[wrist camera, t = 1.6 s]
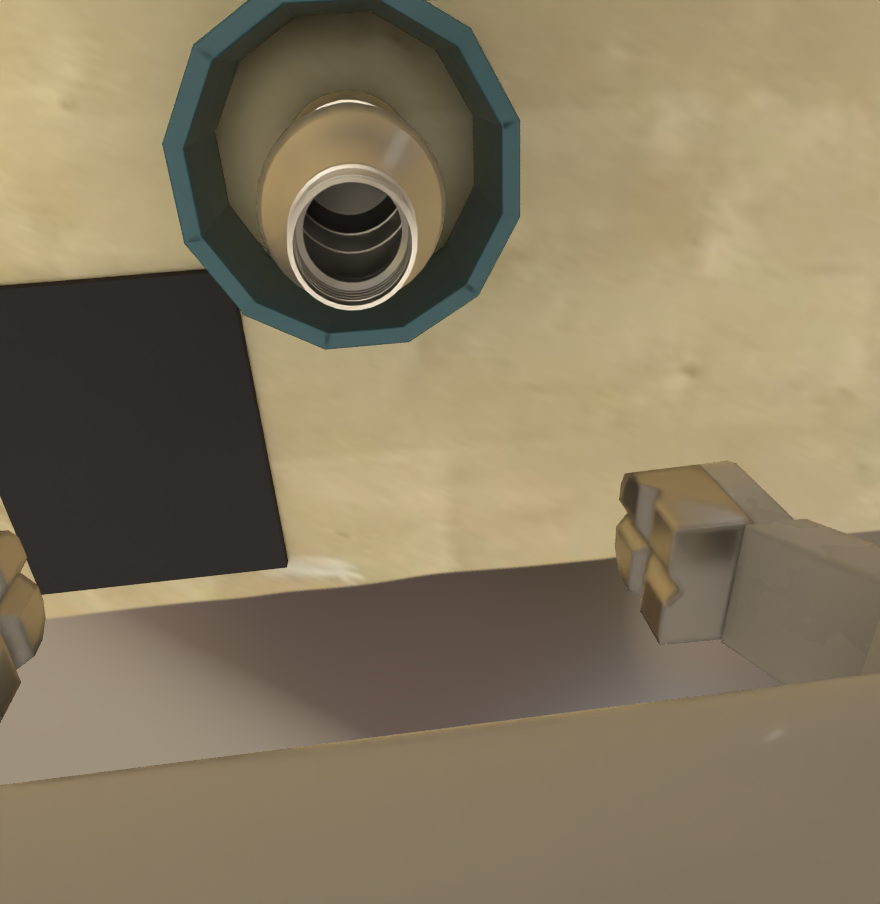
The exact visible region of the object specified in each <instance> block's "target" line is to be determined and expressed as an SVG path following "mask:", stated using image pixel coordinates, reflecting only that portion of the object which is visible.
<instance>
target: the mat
mask: <svg viewBox="0 0 880 904" xmlns="http://www.w3.org/2000/svg"><path fill="white" fill-rule="evenodd" d="M0 497H1V499H2V501H3V504H4V506H5V509H6V511H7V513H8V516H9V518H10V521H11V523H12V525H13V528H14V530H15V533H16V535H17V536H18V537H19V539H20V541H21V544H22V546H23V548H24V551H25V553H26V555H27V562H28V564H29V567H30V569H31V571H32V574H33V576H34V579H35V581H36V583H37V585H38V587H39V590H40V593H41V595H43V594H52V593H61V592H70V591H79V590H88V589H97V588H106V587H115V586H124V585H133V584H142V583H151V582H160V581H169V580H178V579H187V578H196V577H205V576H214V575H223V574H232V573H241V572H250V571H259V570H268V569H276V568H285V567H287V564H288V558H287V553H286V548H285V543H284V537H283V532H282V527H281V522H280V517H279V512H278V506H277V501H276V496H275V491H274V486H273V481H272V476H271V470H270V465H269V460H268V455H267V450H266V445H265V439H264V434H263V429H262V424H261V419H260V414H259V408H258V403H257V398H256V393H255V388H254V383H253V378H252V372H251V367H250V362H249V357H248V352H247V347H246V341H245V336H244V331H243V326H242V321H241V316H240V311H239V308H238V307H237V305H236V304H235V303H234V302H233V301H232V299H231V298H230V297H229V296H228V295H227V293H226V292H225V291H224V290H223V289H222V288H221V286H220V285H219V284H218V283H217V282H216V280H215V279H214V278H213V277H212V276H211V274H210V273H209V272H208V271H207V270H206V269H204V270H192V271H180V272H167V273H155V274H142V275H130V276H117V277H105V278H92V279H80V280H68V281H55V282H43V283H30V284H18V285H5V286H0Z"/></svg>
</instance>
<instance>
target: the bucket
mask: <svg viewBox="0 0 880 904" xmlns="http://www.w3.org/2000/svg"><path fill="white" fill-rule="evenodd" d="M366 11H371V12H373V13H374V14H376V15H378V16H379V17H381V18H383V19H385V20H386V21H388V22H390V23H391V24H393V25H395V26H396V27H398V28H400V29H402V30H403V31H405V32H407V33H408V34H410V35H412V36H413V37H415V38H417V39H419V40H420V41H422V42H424V43H425V44H427V45H429V46H430V47H432V48H434V49H436V51H437V53H438V55H439V57H440V58H441V60H442V62H443V64H444V65H445V67H446V69H447V71H448V72H449V74H450V76H451V78H452V80H453V81H454V83H455V85H456V87H457V88H458V90H459V92H460V94H461V95H462V97H463V99H464V101H465V102H466V104H467V106H468V108H469V110H470V111H471V113H472V119H473V155H474V188H473V190H472V192H471V194H470V196H469V198H468V200H467V202H466V204H465V206H464V208H463V210H462V212H461V214H460V216H459V218H458V220H457V222H456V224H455V226H454V228H453V230H452V233H451V235H450V237H449V239H448V241H447V243H446V245H445V246H444V247H442V248H441V249H440V250H438V251H437V252H435V253H434V254H432V256H431V257H430V259H429V261H428V262H427V264H426V265H425V267H424V268H423V269H422V270H421V271H420V272H419V273H418V274H417V275H416V277H415V278H414V279H413V280H412V281H411V282H409V283H408V284H406V285H405V286H404V287H402V288H401V289H399V290H398V291H397V292H396V293H395V294H394V295H393V296H391V297H390V298H389V299H387V300H386V301H384V302H383V303H380V304H378V305H376V306H374V307H371V308H367V309H363V310H343V309H336V308H334V307H331V306H328V305H325V304H324V303H322V302H320V301H319V300H317V299H315V298H314V297H313V296H312V295H311V294H310V293H308V292H307V291H306V290H304V289H302V288H301V287H299V286H297V285H296V284H295V283H294V282H293V281H292V280H291V279H289V278H288V277H287V276H286V275H285V274H284V273H283V272H282V271H281V269H280V268H279V267H278V265H277V264H276V263H275V261H274V260H272V259H271V258H270V256H269V255H268V254H267V253H266V251H265V250H264V249H263V248H262V246H261V245H260V244H259V242H258V241H257V240H256V239H255V237H254V236H253V235H252V233H251V232H250V231H249V230H248V228H247V227H246V226H245V225H244V223H243V222H242V221H241V219H240V218H239V217H238V216H237V214H236V213H235V212H234V210H233V209H232V208H231V207H230V205H229V203H228V198H227V193H226V187H225V182H224V177H223V171H222V166H221V161H220V155H219V150H218V145H217V139H216V134H215V131H216V128H217V125H218V122H219V119H220V116H221V113H222V110H223V107H224V104H225V101H226V98H227V95H228V92H229V89H230V86H231V83H232V81H233V78H234V75H235V72H236V69H237V66H238V63H239V61H240V60H241V59H242V58H243V57H245V56H246V55H247V54H249V53H250V52H251V51H252V50H254V49H255V48H256V47H257V46H259V45H260V44H261V43H262V42H264V41H265V40H266V39H267V38H269V37H270V36H271V35H272V34H274V33H275V32H276V31H278V30H279V29H280V28H281V27H283V26H284V25H285V24H286V23H288V22H289V21H290V20H291V19H293V18H294V17H295V16H296V15H311V14H329V13H347V12H366ZM162 145H163V149H164V154H165V158H166V163H167V167H168V172H169V176H170V181H171V185H172V190H173V194H174V199H175V203H176V208H177V212H178V217H179V221H180V226H181V230H182V235H183V239H184V243H185V245H186V246H187V247H188V248H189V249H190V251H191V252H192V253H193V254H194V255H195V257H196V258H197V259H198V260H199V261H200V262H201V264H202V265H203V266H204V267H205V268H206V270H207V271H208V272H209V273H210V274H211V276H212V277H213V278H214V279H215V280H216V282H217V283H218V284H219V285H220V286H221V288H222V289H223V290H224V291H225V292H226V293H227V295H228V296H229V297H230V298H231V299H232V301H233V302H234V303H235V304H236V305H237V307H238V308H239V309H240V310H241V311H242V313H243V314H244V315H245V316H247V317H250V318H252V319H254V320H257V321H259V322H261V323H264V324H266V325H269V326H271V327H273V328H276V329H278V330H280V331H283V332H285V333H288V334H290V335H292V336H295V337H297V338H299V339H302V340H304V341H307V342H309V343H311V344H314V345H316V346H318V347H321V348H323V349H336V348H348V347H359V346H370V345H381V344H392V343H403V342H410V341H411V340H413V339H414V338H416V337H417V336H419V335H420V334H422V333H423V332H425V331H426V330H428V329H429V328H431V327H432V326H434V325H435V324H437V323H438V322H440V321H441V320H443V319H444V318H446V317H447V316H449V315H450V314H452V313H453V312H455V311H456V310H458V309H459V308H461V307H462V306H464V305H465V304H467V303H468V302H470V301H471V300H473V299H474V298H476V297H477V296H478V295H479V293H480V292H481V290H482V288H483V286H484V284H485V282H486V280H487V278H488V276H489V275H490V273H491V271H492V269H493V267H494V265H495V263H496V261H497V259H498V258H499V256H500V254H501V252H502V250H503V248H504V246H505V244H506V242H507V241H508V239H509V237H510V235H511V233H512V231H513V229H514V227H515V225H516V224H517V222H518V220H519V218H520V120H519V117H518V116H517V114H516V112H515V110H514V108H513V106H512V104H511V102H510V101H509V99H508V97H507V95H506V93H505V91H504V89H503V87H502V86H501V84H500V82H499V80H498V78H497V76H496V74H495V73H494V71H493V69H492V67H491V65H490V63H489V61H488V59H487V58H486V56H485V54H484V52H483V50H482V48H481V46H480V44H479V43H478V41H477V39H476V37H475V35H474V33H473V31H472V29H471V28H470V27H468V26H466V25H465V24H463V23H461V22H460V21H458V20H456V19H455V18H453V17H451V16H450V15H448V14H447V13H445V12H443V11H442V10H440V9H438V8H437V7H435V6H433V5H432V4H430V3H428V2H427V1H425V0H248V1H246V2H245V3H244V4H243V5H242V6H240V7H239V8H238V9H237V10H235V11H234V12H233V13H232V14H230V15H229V16H228V17H227V18H226V19H224V20H223V21H222V22H221V23H219V24H218V25H217V26H216V27H214V28H213V29H212V30H211V31H209V32H208V33H207V34H206V35H205V36H203V37H202V38H201V39H200V40H198V41H197V42H196V43H195V44H193V47H192V50H191V53H190V57H189V60H188V63H187V66H186V70H185V73H184V76H183V79H182V82H181V86H180V89H179V92H178V95H177V98H176V102H175V105H174V108H173V111H172V115H171V118H170V121H169V124H168V127H167V131H166V134H165V137H164V140H163V143H162Z"/></svg>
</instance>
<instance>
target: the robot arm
mask: <svg viewBox="0 0 880 904" xmlns="http://www.w3.org/2000/svg"><path fill="white" fill-rule="evenodd" d="M619 500H620V502H621V503H622V505H623V506H624V508H625V509H626V511H627V514H626V515H625V517H624V518H623V519H622V520H621V521H620V523H619V524H618V525H617V526H616V539H615V550H616V558H617V565H618V568H619V571H620V574H621V577H622V579H623V581H624V583H625V585H626V587H627V588H628V590H629V591H631V592H633V593H634V594H636V595H638V596H640V597H642V602H641V603H642V604H641V613H642V615H643V617H644V619H645V620H646V622H647V624H648V625H649V627H650V629H651V631H652V632H653V634H654V636H655V638H656V639H657V641H658V643H659V644H660V645H665V644H676V643H687V642H697V641H707V640H708V641H709V640H719V639H722V641H721V642H722V643H723V644H725V645H726V646H728V647H729V648H731V649H732V650H733V651H735V652H736V653H738V654H739V655H741V656H742V657H744V658H745V659H747V660H748V661H750V662H751V663H752V664H754V665H756V666H757V667H758V668H760V669H761V670H763V671H764V672H766V673H767V674H768V675H770V676H771V677H773V678H774V679H776V680H777V681H779V682H780V683H782V684H783V685H780V686H772V687H764V688H756V689H749V690H741V691H733V692H725V693H717V694H709V695H702V696H694V697H686V698H679V699H670V700H663V701H655V702H647V703H639V704H632V705H624V706H616V707H608V708H601V709H593V710H585V711H577V712H570V713H561V714H554V715H546V716H538V717H531V718H522V719H515V720H507V721H499V722H491V723H484V724H475V725H467V726H460V727H452V728H445V729H437V730H428V731H421V732H413V733H406V734H397V735H390V736H382V737H374V738H366V739H359V740H350V741H343V742H335V743H327V744H319V745H311V746H303V747H296V748H288V749H280V750H272V751H264V752H256V753H249V754H241V755H233V756H225V757H217V758H209V759H201V760H194V761H186V762H178V763H170V764H162V765H154V766H146V767H139V768H131V769H123V770H115V771H107V772H99V773H92V774H84V775H77V776H68V777H61V778H52V779H45V780H37V781H30V782H22V783H13V784H5V785H0V904H880V546H878V545H875V544H872V543H870V542H867V541H864V540H862V539H859V538H856V537H854V536H851V535H848V534H845V533H843V532H840V531H837V530H835V529H832V528H829V527H826V526H824V525H821V524H818V523H816V522H813V521H810V520H808V519H798V520H794V519H793V518H792V517H791V516H790V515H789V514H788V513H787V512H786V511H785V510H784V509H783V508H782V507H781V506H780V505H779V504H778V503H777V502H776V501H775V500H774V499H773V498H771V497H770V496H769V495H768V494H767V493H766V492H765V491H764V490H763V489H762V488H761V487H760V486H759V485H758V484H757V483H756V482H755V481H754V480H753V479H752V478H751V477H750V476H749V475H748V474H747V473H746V472H745V471H744V470H742V469H741V468H740V467H739V466H738V465H737V464H736V463H734V462H730V461H720V462H713V463H706V464H698V465H690V466H682V467H673V468H665V469H657V470H648V471H640V472H632V473H626V474H625V475H624V477H623V480H622V483H621V488H620V497H619ZM26 560H27V555H26V553H25V551H24V548H23V546H22V544H21V541H20V539H19V537H18V536H17V535H15V534H13V533H12V532H10V531H9V530H7V531H0V722H1V720H2V718H3V716H4V714H5V712H6V710H7V709H8V706H9V705H10V703H11V701H12V699H13V697H14V695H15V693H16V691H17V689H18V687H19V686H20V684H21V681H20V679H19V676H18V674H17V671H16V670H17V669H18V668H19V667H21V666H22V665H23V664H25V663H26V662H27V661H29V660H30V659H31V658H33V657H34V656H35V654H36V652H37V650H38V648H39V646H40V644H41V642H42V639H43V633H44V625H45V619H46V617H45V610H44V603H43V598H42V596H41V593H40V590H39V587H38V585H37V584H35V583H34V582H33V581H31V580H30V579H28V578H27V577H26V576H24V575H23V574H21V573H20V572H21V570H22V568H23V566H24V564H25V562H26Z"/></svg>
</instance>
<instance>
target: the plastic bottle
mask: <svg viewBox="0 0 880 904" xmlns="http://www.w3.org/2000/svg"><path fill="white" fill-rule="evenodd" d="M256 205H257V216H258V223H259V227H260V231H261V234H262V238H263V241H264V243H265V245H266V247H267V249H268V251H269V253H270V255H271V257H272V259H273V260H274V261H275V263H276V264H277V265H278V267H279V268H280V269H281V271H282V272H283V273H284V274H285V275H286V276H287V277H288V278H289V279H291V280H292V281H293V282H294V283H295V284H296V285H297V286H299V287H301V288H302V289H304V290H306V291H307V292H308V293H310V294H311V295H312V296H313V297H314V298H315V299H317V300H319V301H320V302H322V303H324V304H325V305H328V306H331V307H334V308H336V309H343V310H363V309H367V308H371V307H374V306H376V305H378V304H380V303H383V302H384V301H386V300H387V299H389V298H390V297H391V296H393V295H394V294H395V293H396V292H397V291H398V290H399V289H401V288H402V287H404V286H405V285H406V284H408V283H409V282H411V281H412V280H413V279H414V278H415V277H416V275H417V274H418V273H419V272H420V271H421V270H422V269H423V268H424V267H425V265H426V264H427V262H428V261H429V259H430V257H431V256H432V254H433V253H434V251H435V248H436V246H437V243H438V241H439V239H440V236H441V232H442V228H443V223H444V219H445V191H444V184H443V178H442V175H441V172H440V169H439V167H438V164H437V161H436V158H435V157H434V155H433V153H432V152H431V150H430V148H429V147H428V145H427V143H426V142H425V141H424V139H423V138H422V137H421V136H420V135H419V134H418V133H417V131H416V130H415V129H414V128H413V127H412V126H410V125H409V124H408V123H406V122H405V121H404V120H402V119H401V118H400V117H399V115H398V114H397V113H396V112H395V111H394V110H393V109H392V108H391V107H390V106H389V105H387V104H386V103H385V102H383V101H382V100H381V99H379V98H376V97H374V96H372V95H370V94H368V93H363V92H358V91H337V92H333V93H329V94H326V95H324V96H321V97H319V98H317V99H315V100H314V101H312V102H311V103H310V104H309V105H307V106H306V107H305V108H304V109H303V110H302V111H301V112H300V113H299V114H298V116H297V117H296V118H295V119H294V121H293V123H292V125H291V126H290V127H289V128H287V129H286V130H285V131H284V133H283V134H282V135H281V136H280V138H279V139H278V140H277V141H276V142H275V144H274V145H273V147H272V149H271V150H270V152H269V154H268V156H267V158H266V160H265V162H264V164H263V168H262V171H261V174H260V178H259V181H258V190H257V200H256Z"/></svg>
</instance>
